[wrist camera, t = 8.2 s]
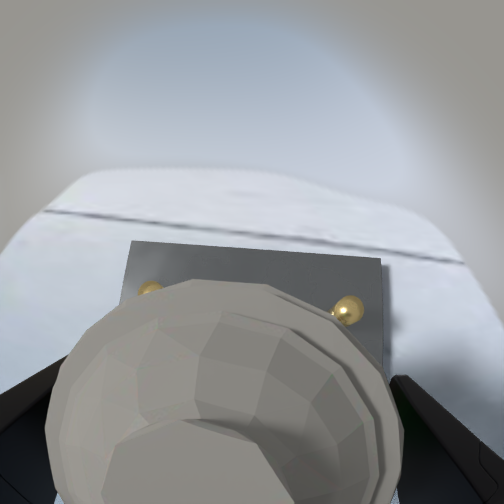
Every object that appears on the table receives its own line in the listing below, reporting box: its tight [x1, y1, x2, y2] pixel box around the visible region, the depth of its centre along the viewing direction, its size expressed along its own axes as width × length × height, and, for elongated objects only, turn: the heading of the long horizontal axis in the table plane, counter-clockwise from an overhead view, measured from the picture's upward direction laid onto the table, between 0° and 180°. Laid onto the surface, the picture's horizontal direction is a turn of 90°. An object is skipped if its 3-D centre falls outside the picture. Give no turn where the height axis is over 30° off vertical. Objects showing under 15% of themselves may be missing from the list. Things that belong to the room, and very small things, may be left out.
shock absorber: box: [45, 279, 404, 504], centre depth 9 cm, size 6×6×15 cm
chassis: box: [119, 241, 383, 366], centre depth 16 cm, size 18×16×4 cm
